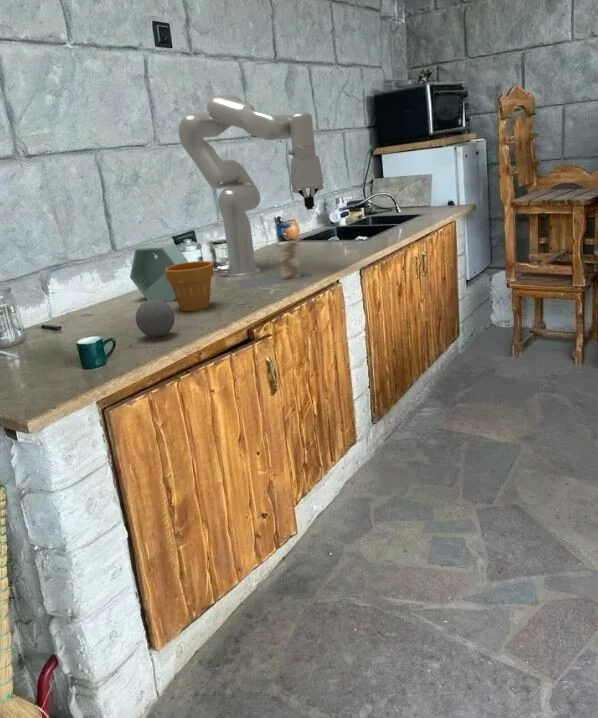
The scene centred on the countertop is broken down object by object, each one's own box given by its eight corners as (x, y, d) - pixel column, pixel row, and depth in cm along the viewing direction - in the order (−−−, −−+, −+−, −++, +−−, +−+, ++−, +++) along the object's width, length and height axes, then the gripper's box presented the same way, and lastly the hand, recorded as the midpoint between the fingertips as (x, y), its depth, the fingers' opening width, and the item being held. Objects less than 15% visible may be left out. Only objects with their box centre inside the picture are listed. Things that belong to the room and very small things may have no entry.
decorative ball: (175, 339, 177) (169, 301, 174) (136, 343, 177) (129, 306, 174) (178, 329, 187) (173, 293, 184) (142, 333, 186) (135, 297, 183)
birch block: (283, 279, 234) (279, 244, 230) (280, 276, 240) (276, 242, 236) (300, 277, 235) (296, 242, 231) (297, 274, 240) (293, 240, 237)
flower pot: (222, 300, 216) (216, 259, 212) (213, 311, 202) (207, 268, 198) (177, 304, 217) (171, 263, 213) (166, 315, 204) (159, 272, 200)
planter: (158, 314, 227) (119, 264, 225) (169, 308, 234) (132, 259, 232) (191, 285, 219) (151, 233, 217) (202, 280, 226) (163, 229, 224)
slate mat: (241, 289, 228) (240, 288, 228) (236, 282, 241) (236, 280, 241) (311, 279, 232) (311, 278, 231) (303, 272, 245) (303, 271, 245)
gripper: (283, 155, 221) (290, 212, 227) (328, 150, 224) (333, 207, 229) (279, 155, 228) (286, 211, 234) (323, 150, 231) (328, 205, 236)
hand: (309, 209), depth 232 cm, fingers closed
